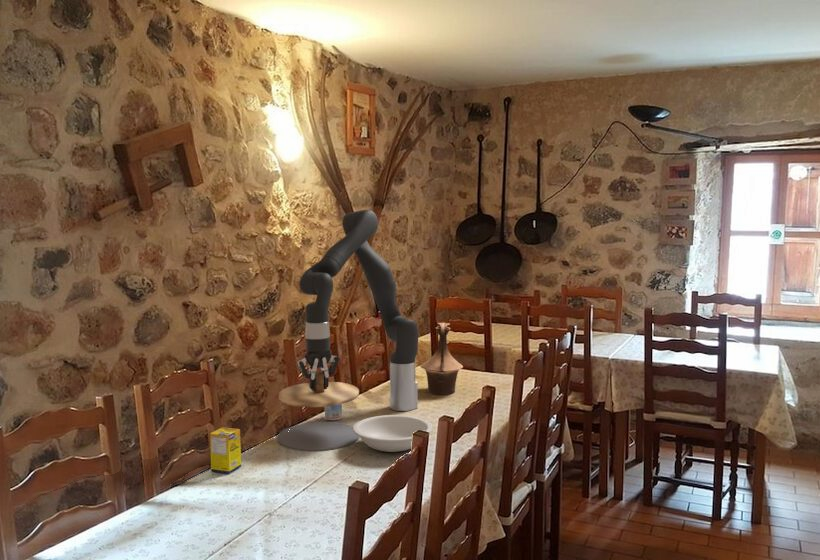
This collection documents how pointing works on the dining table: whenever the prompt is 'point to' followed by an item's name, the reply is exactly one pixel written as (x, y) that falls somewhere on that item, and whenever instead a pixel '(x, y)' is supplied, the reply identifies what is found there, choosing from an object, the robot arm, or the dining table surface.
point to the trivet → (317, 436)
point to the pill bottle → (333, 412)
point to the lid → (318, 393)
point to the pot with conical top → (442, 366)
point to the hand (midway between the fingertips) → (319, 389)
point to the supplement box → (225, 450)
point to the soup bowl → (390, 431)
